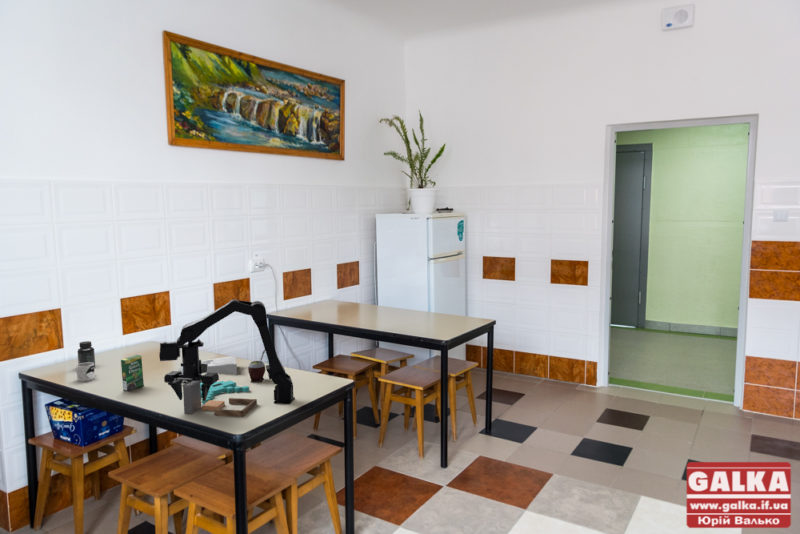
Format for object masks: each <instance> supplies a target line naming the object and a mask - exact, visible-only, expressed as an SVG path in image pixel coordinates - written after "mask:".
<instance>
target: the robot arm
mask: <svg viewBox="0 0 800 534" xmlns="http://www.w3.org/2000/svg"><path fill="white" fill-rule="evenodd" d="M235 312H236V313H240V314H243V315H245V316H246V315H248V316H250V317H251V318H252V320H253V322H254V324H255V325H256V327H257V329H258V331H259V335H260V338H261V341H262V343H263V344H262V345H263V347H264V350H265V354H266V357H267V360H268V364H267V365H265V371H266V372H267V376H268V379H269V381H270V380H271V382H272V383H273V384H275V386H274V389H273V400H274V401H273V404H283V405H291V404H292V403H293V401H294V400H295V399H296V397H295V396H294V383H293V380H292V377H291V375H290V374H288V373H286V370H285V367H284V366H283V364H282V362H281V360H280V358H279V357H278V354H277V351H276V348H275V344H274V341H273V339H272V335H271V332H270V329H269V325H268V319H267V317H268V316H267V310H266V307H265V304H264V302H262V301H260V300H256V301H248V300H239V299H236V298H233V299H230V300H229V302H227V303H226V304H223V305H222V306H221V307H219V308H218V309H215V310H214V311H212V312H210V313H209V314H207V315H206V316H204V317H202V318H199V319H197V320H194V321H191V322H188V323H186V324H185V325H183V327H181V330H180V335H179V336H178V337H177V339H176V341H168V342H167V341H161V342H160V343H159V361H160V362H169V361H170V362H171V361H177V360H178V359H179V358H180V357H181V360H182V361H181V363H180V367H181V366H183V374H182V372H181V371H178V370H171V371H170V372H168V373H166V374H165V375H164V377H163V381H164V383H166V384H167V385H168V386H170V387H171V388H172V390H173V391H174V392H175V395H176V396H177V398H178V399H179V401H182V400H183V383H182V381H183V380H199V381H200V382H201V383H203V384H202V385H201V389H202V397H201V399H203V401H205V400H206V398H207V394H208V391H209V389H210V386H211V385H212V384H214V383H215V382H219V380H220V376H219V374H218V373H207V365H208V364H202V363H201V361H202V359H200V354H199V352H200V351H199V348H202V347H203V348H204V345H205V343H204V342H203V341H201V340H200V339H199V337H200V336H201V335H202V334H203V333H204V332H205V331H206V330H208V329H209V328H210V327H212V326H213V325H215V324H217V323H218V322H220V321H221V320H224V319H225V318H227V317H228V316H230V315H232V314H233V313H235ZM196 339H197V340H196ZM186 343H187V344H186ZM204 373H205V374H204ZM200 374H201V375H200ZM202 374H203V375H202Z"/></svg>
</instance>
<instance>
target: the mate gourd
mask: <svg viewBox="0 0 800 534" xmlns="http://www.w3.org/2000/svg"><path fill="white" fill-rule="evenodd" d="M264 354H266V351H265V349H264V350H263V351H262V353H261V357H260V360H253V361H251V362H250V363H249V365H248V367H247V368H248V369H247V371H248V375H249V378H250V384H251V383H256V382H258V383H262V382H263V381H264V380H265V378H264V375H265V373H266V365H265V363H264V362H263V361H262V360H263V357H264ZM262 380H263V381H262Z"/></svg>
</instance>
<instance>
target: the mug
mask: <svg viewBox="0 0 800 534" xmlns="http://www.w3.org/2000/svg"><path fill="white" fill-rule="evenodd" d="M95 377H96V375H95V367H94V363H92V362H86V363H80V364H76V380H77V382H79V383H82V382H84V383H85V382H91V381H93V380H95Z"/></svg>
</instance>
